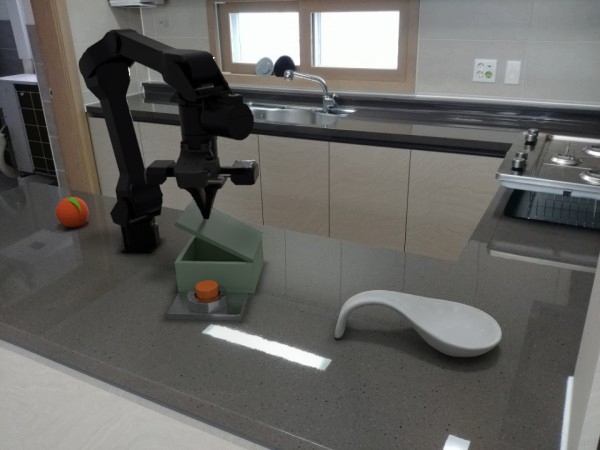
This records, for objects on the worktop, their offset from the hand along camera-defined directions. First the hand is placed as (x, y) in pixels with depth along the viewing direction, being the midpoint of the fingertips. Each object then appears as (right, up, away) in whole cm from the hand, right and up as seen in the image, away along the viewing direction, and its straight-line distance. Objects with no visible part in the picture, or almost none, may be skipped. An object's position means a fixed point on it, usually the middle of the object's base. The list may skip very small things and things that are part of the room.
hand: (206, 218), depth 95 cm
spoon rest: (+34, -19, -15) cm, 41 cm away
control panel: (+1, -15, -6) cm, 16 cm away
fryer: (+2, -11, +4) cm, 12 cm away
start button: (+1, -13, -7) cm, 14 cm away
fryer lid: (+2, -2, +1) cm, 3 cm away
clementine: (-35, -2, +28) cm, 45 cm away
